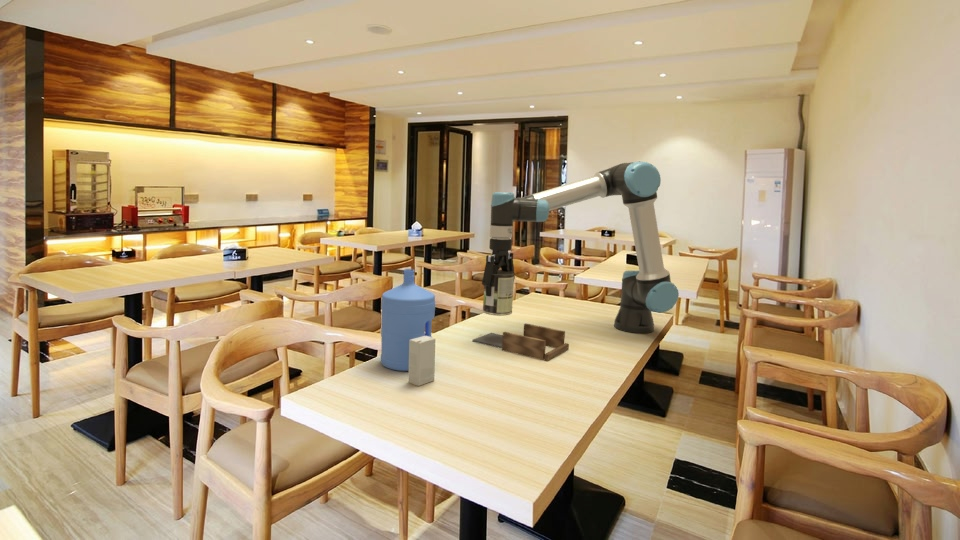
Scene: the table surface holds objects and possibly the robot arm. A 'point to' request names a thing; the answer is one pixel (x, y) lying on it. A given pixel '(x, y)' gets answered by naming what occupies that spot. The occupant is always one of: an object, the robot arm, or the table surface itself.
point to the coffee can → (501, 294)
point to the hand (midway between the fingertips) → (497, 302)
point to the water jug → (404, 320)
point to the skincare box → (421, 360)
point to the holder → (535, 342)
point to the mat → (490, 340)
